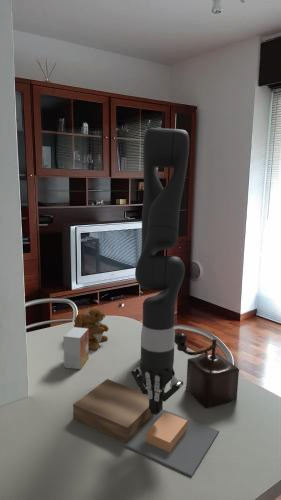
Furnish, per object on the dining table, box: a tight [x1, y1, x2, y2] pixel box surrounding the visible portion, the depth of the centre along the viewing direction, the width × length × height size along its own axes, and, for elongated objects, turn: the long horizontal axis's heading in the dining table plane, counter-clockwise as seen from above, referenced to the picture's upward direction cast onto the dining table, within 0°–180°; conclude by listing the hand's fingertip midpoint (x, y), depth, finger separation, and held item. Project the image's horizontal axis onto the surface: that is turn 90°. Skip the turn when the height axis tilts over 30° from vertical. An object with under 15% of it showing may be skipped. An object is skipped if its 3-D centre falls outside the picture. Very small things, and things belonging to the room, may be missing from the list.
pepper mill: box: [174, 332, 240, 409], centre depth 101 cm, size 16×11×18 cm
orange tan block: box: [146, 412, 188, 452], centre depth 85 cm, size 9×6×2 cm, turn 148°
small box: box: [63, 326, 90, 370], centre depth 118 cm, size 8×6×10 cm
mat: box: [124, 408, 220, 478], centre depth 85 cm, size 16×16×1 cm
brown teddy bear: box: [73, 306, 110, 351], centre depth 133 cm, size 10×14×13 cm
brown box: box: [72, 378, 153, 444], centre depth 93 cm, size 14×16×4 cm
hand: (155, 412), depth 87 cm, fingers closed
